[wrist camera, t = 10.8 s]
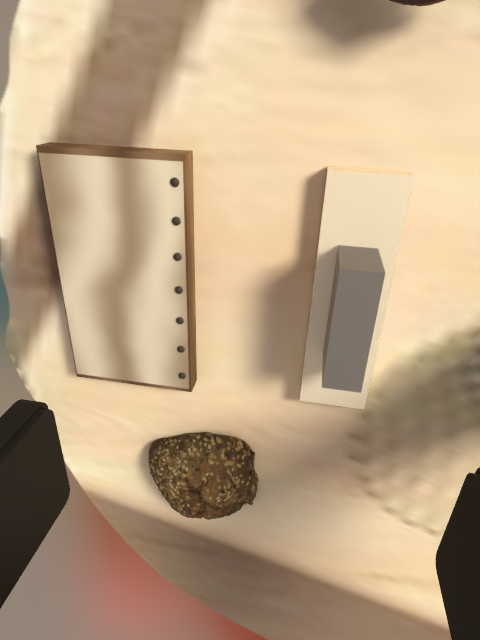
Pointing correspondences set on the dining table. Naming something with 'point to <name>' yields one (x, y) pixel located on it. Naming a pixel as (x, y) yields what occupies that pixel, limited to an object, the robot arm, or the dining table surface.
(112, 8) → the dining table surface
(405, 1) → the rusty gear assembly
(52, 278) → the dining table surface
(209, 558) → the dining table surface
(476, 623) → the robot arm
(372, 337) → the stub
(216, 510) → the bread roll
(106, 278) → the light wooden flat board
